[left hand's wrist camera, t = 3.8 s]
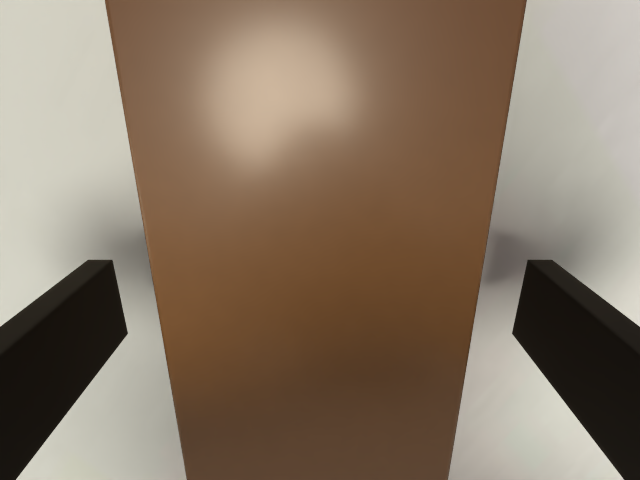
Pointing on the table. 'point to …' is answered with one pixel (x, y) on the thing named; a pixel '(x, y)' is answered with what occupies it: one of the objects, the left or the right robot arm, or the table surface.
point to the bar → (316, 221)
